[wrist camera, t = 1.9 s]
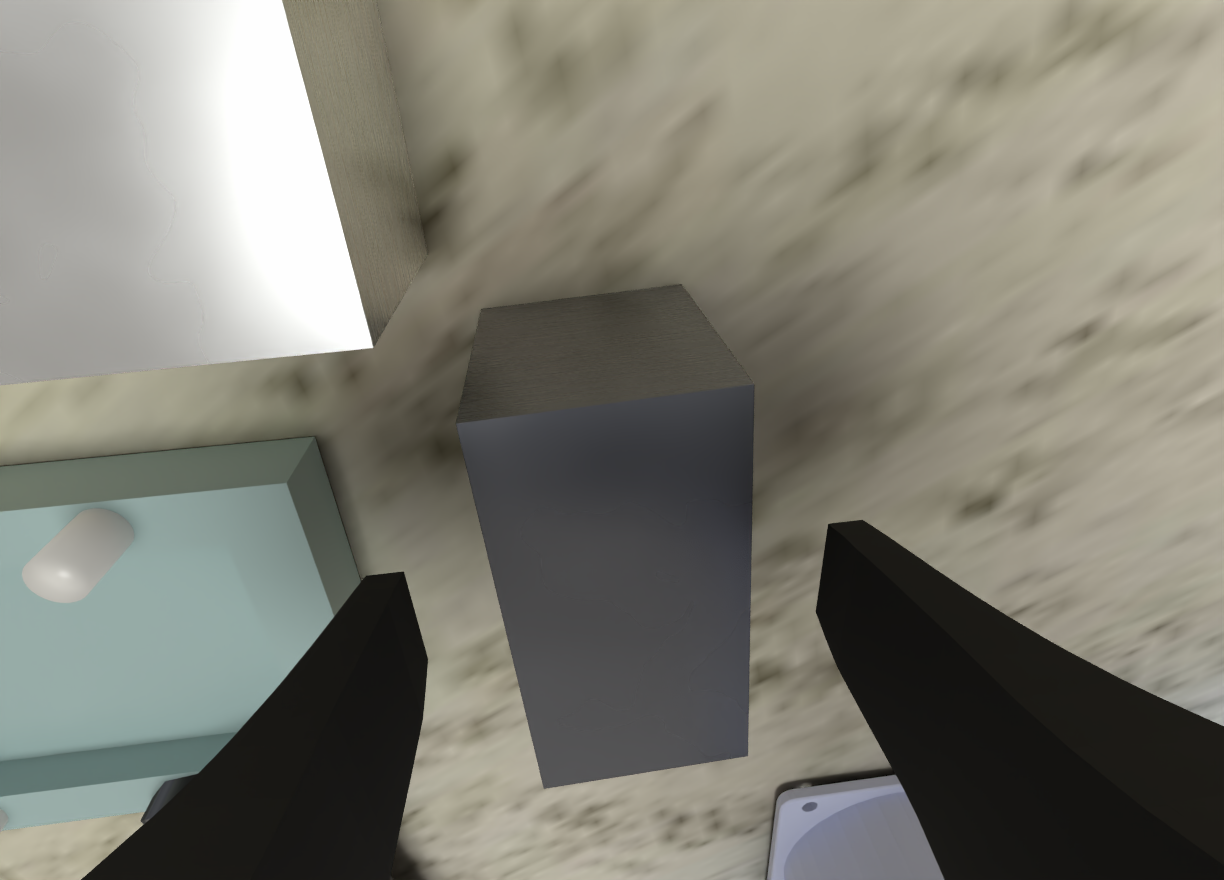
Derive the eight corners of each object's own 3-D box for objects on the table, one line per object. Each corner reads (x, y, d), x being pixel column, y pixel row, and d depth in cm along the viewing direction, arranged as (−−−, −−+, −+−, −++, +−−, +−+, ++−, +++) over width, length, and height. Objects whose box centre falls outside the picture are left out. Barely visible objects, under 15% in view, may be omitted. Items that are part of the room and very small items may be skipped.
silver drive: (377, -4, 10) (266, -63, 6) (428, 252, 12) (373, 348, 8) (-164, 32, 10) (-718, -5, 5) (-18, 292, 12) (-340, 418, 7)
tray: (314, 436, 14) (259, 527, 11) (404, 718, 18) (381, 834, 15) (-364, 501, 13) (-614, 619, 10) (-94, 781, 17) (-215, 916, 14)
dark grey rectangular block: (481, 306, 13) (455, 424, 8) (680, 282, 13) (754, 384, 9) (541, 605, 17) (543, 788, 12) (692, 582, 17) (748, 755, 13)
